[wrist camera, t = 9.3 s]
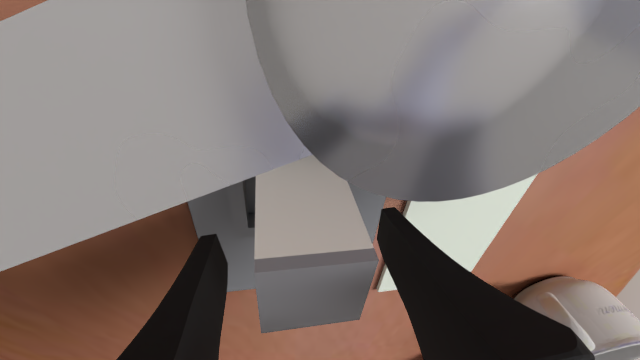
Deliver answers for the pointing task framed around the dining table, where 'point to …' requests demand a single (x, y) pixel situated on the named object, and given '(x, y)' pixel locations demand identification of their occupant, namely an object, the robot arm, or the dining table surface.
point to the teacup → (587, 315)
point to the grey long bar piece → (293, 100)
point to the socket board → (239, 224)
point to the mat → (461, 224)
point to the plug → (309, 248)
